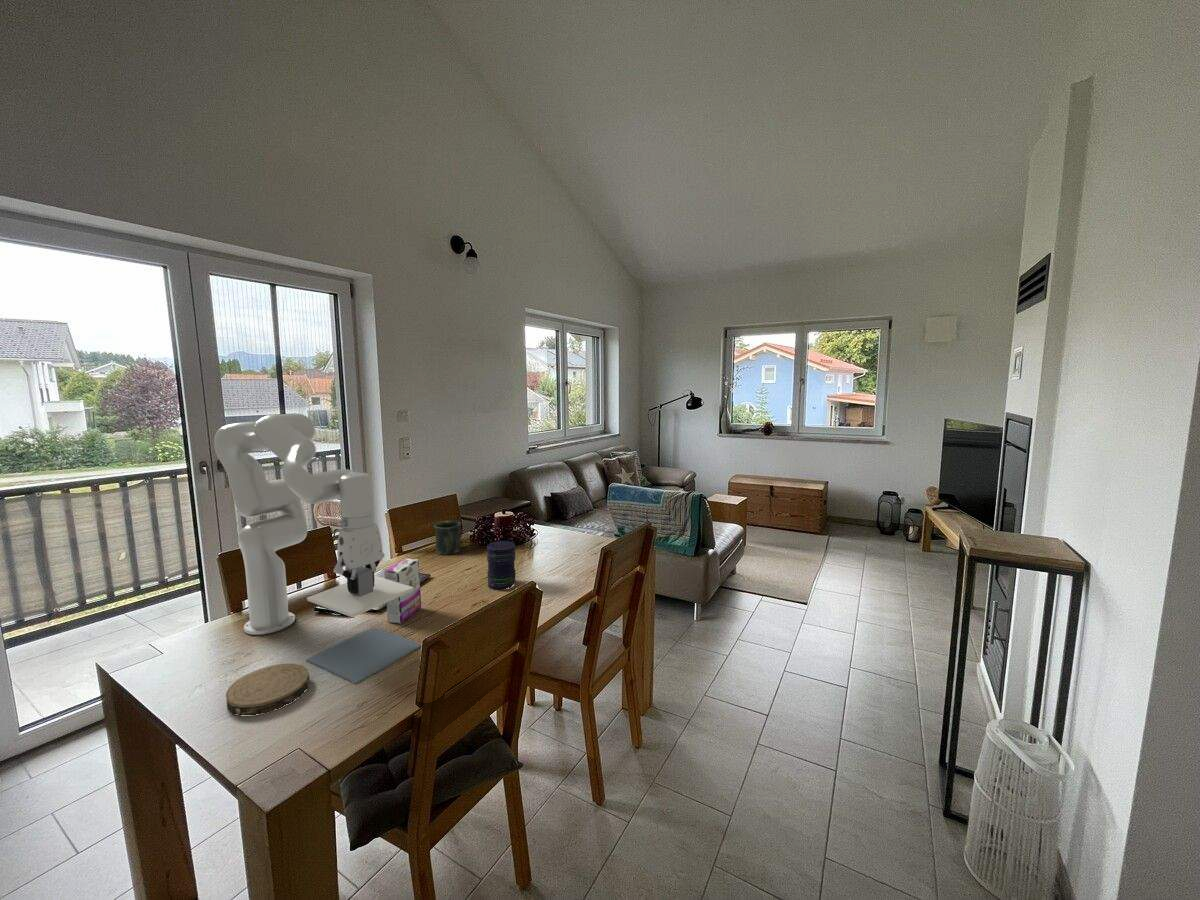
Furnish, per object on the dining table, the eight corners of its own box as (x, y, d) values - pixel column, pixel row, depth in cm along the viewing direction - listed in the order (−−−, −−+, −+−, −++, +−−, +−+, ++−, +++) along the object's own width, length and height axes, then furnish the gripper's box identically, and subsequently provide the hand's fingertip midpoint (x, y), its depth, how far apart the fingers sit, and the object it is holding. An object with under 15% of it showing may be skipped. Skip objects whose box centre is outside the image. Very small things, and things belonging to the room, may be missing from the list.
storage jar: (518, 580, 181) (518, 541, 179) (511, 591, 171) (510, 550, 169) (492, 579, 182) (491, 540, 180) (483, 590, 172) (482, 548, 170)
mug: (429, 553, 207) (428, 526, 206) (451, 543, 221) (450, 517, 219) (450, 557, 204) (449, 529, 202) (471, 546, 217) (471, 520, 216)
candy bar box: (407, 606, 159) (405, 557, 156) (421, 608, 158) (419, 558, 156) (386, 622, 148) (383, 570, 146) (401, 624, 147) (398, 572, 145)
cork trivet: (264, 672, 123) (263, 661, 122) (324, 677, 121) (323, 665, 121) (207, 714, 107) (206, 702, 106) (275, 720, 105) (274, 707, 105)
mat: (306, 661, 127) (305, 659, 127) (374, 628, 145) (374, 626, 144) (355, 684, 118) (355, 682, 118) (422, 646, 135) (422, 644, 135)
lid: (307, 600, 125) (305, 575, 124) (369, 576, 141) (368, 553, 140) (352, 617, 117) (350, 590, 116) (413, 590, 132) (412, 565, 132)
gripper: (336, 532, 117) (340, 604, 120) (395, 516, 132) (398, 581, 134) (317, 527, 121) (321, 598, 123) (376, 512, 135) (379, 575, 138)
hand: (361, 588), depth 129 cm, fingers closed on lid, 4 cm apart
